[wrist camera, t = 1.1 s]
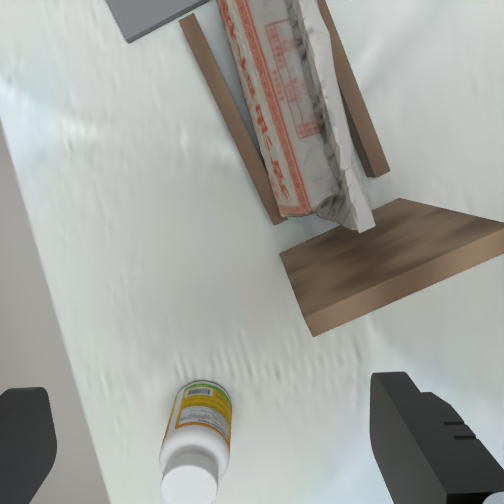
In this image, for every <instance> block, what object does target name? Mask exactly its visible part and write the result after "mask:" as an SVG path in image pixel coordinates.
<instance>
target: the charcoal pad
mask: <svg viewBox="0 0 504 504" xmlns="http://www.w3.org/2000/svg"><path fill="white" fill-rule="evenodd" d="M208 1H209V0H106V2H107V4H108V6H109V8H110V10H111V12H112V14H113V16H114V18H115V20H116V22H117V24H118V26H119V28H120V30H121V32H122V34H123V36H124V38H125V40H126V41H127V42H128V43H130V42H132V41H134V40H136V39H138V38H140V37H142V36H143V35H145V34H147V33H149V32H151V31H153V30H155V29H157V28H159V27H160V26H162V25H164V24H166V23H168V22H170V21H172V20H174V19H176V18H177V17H179V16H181V15H183V14H185V13H187V12H189V11H191V10H192V9H194V8H196V7H198V6H200V5H202V4H204V3H206V2H208Z"/></svg>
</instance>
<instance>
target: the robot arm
mask: <svg viewBox="0 0 504 504" xmlns="http://www.w3.org/2000/svg"><path fill="white" fill-rule="evenodd" d="M370 440H371V446H372V450H373V454H374V457H375V459H376V462H377V464H378V466H379V469H380V471H381V474H382V476H383V478H384V481H385V483H386V486H387V488H388V490H389V493H390V495H391V498H392V500H393V502H394V504H504V469H503V468H502V467H501V466H500V465H499V463H498V462H497V461H496V460H495V458H494V457H493V456H492V455H491V454H490V452H489V451H488V450H487V449H486V447H485V446H484V445H483V444H482V443H481V441H480V440H479V439H476V435H475V434H474V433H473V432H472V430H471V429H470V428H469V427H468V425H465V424H464V421H463V419H462V418H461V417H460V416H459V414H458V413H457V412H456V411H455V410H454V408H453V407H452V406H451V405H450V404H448V403H447V402H445V401H444V400H442V399H441V398H439V397H438V396H436V395H435V394H433V393H432V392H420V391H419V389H418V388H417V387H416V385H415V384H414V383H413V381H412V380H411V378H410V377H409V376H408V374H407V373H406V372H382V373H373V374H372V376H371V386H370ZM56 452H57V440H56V434H55V429H54V424H53V418H52V413H51V408H50V403H49V398H48V394H47V391H46V390H45V389H44V388H42V387H31V388H11V389H8V390H6V391H5V392H4V393H3V394H2V395H0V504H29V503H30V501H31V500H32V498H33V497H34V495H35V494H36V492H37V491H38V489H39V488H40V486H41V484H42V483H43V481H44V480H45V478H46V477H47V475H48V474H49V472H50V470H51V468H52V466H53V464H54V461H55V457H56Z"/></svg>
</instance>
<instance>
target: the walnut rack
mask: <svg viewBox="0 0 504 504" xmlns="http://www.w3.org/2000/svg"><path fill="white" fill-rule="evenodd" d="M317 3H318V7H319V11H320V14H321V17H322V19H323V21H324V23H325V25H326V27H327V30H328V32H329V34H330V41H331V48H332V55H333V63H334V69H335V73H336V77H337V81H338V86H339V90H340V94H341V98H342V102H343V106H344V110H345V115H346V119H347V123H348V127H349V131H350V135H351V138H352V140H353V143H354V145H355V148H356V150H357V153H358V155H359V158H360V160H361V163H362V165H363V168H364V170H365V173H366V175H367V177H374V178H376V177H379V176H381V175H383V174H385V173H387V172H389V171H390V168H389V166H388V163H387V161H386V158H385V155H384V153H383V150H382V147H381V145H380V142H379V140H378V137H377V134H376V132H375V129H374V127H373V124H372V121H371V119H370V116H369V114H368V111H367V108H366V106H365V103H364V101H363V98H362V95H361V93H360V90H359V87H358V85H357V82H356V80H355V77H354V74H353V72H352V69H351V67H350V64H349V61H348V59H347V56H346V54H345V51H344V48H343V46H342V43H341V40H340V38H339V35H338V33H337V30H336V27H335V25H334V22H333V20H332V17H331V14H330V12H329V9H328V7H327V4H326V1H325V0H317ZM179 23H180V26H181V28H182V30H183V32H184V34H185V36H186V38H187V41H188V43H189V45H190V47H191V49H192V51H193V53H194V55H195V58H196V60H197V62H198V64H199V66H200V68H201V70H202V73H203V75H204V77H205V79H206V81H207V83H208V85H209V88H210V90H211V92H212V94H213V96H214V98H215V100H216V103H217V105H218V107H219V109H220V111H221V113H222V115H223V118H224V120H225V122H226V124H227V126H228V128H229V130H230V133H231V135H232V137H233V139H234V141H235V143H236V145H237V147H238V150H239V152H240V154H241V156H242V158H243V160H244V162H245V165H246V167H247V169H248V171H249V173H250V175H251V177H252V180H253V182H254V184H255V186H256V188H257V190H258V192H259V195H260V197H261V199H262V201H263V203H264V205H265V207H266V210H267V212H268V214H269V216H270V218H271V220H272V222H273V224H274V225H277V224H279V223H281V222H283V221H285V220H287V219H288V218H287V217H285V218H284V217H282V216H281V215H280V212H279V208H278V205H277V201H276V199H275V196H274V193H273V189H272V186H271V183H270V179H269V176H268V174H267V172H266V170H265V168H264V166H263V163H262V161H261V159H260V157H259V155H258V152H257V150H256V148H255V146H254V144H253V141H252V139H251V137H250V135H249V133H248V131H247V128H246V126H245V124H244V122H243V120H242V117H241V115H240V113H239V111H238V109H237V106H236V104H235V102H234V100H233V98H232V96H231V93H230V91H229V89H228V87H227V85H226V82H225V80H224V78H223V76H222V74H221V71H220V69H219V67H218V65H217V63H216V61H215V58H214V56H213V54H212V52H211V50H210V47H209V45H208V43H207V41H206V39H205V36H204V34H203V32H202V30H201V28H200V26H199V23H198V21H197V19H196V17H195V15H194V13H192V14H190V15H188V16H187V17H185V18H183V19H181V20H179ZM371 212H372V215H373V218H374V222H375V225H376V226H375V227H372V228H370V229H368V230H366V231H364V232H362V233H359V232H358V230H351V229H349V228H347V227H345V226H343V225H340V226H338V227H336V228H334V229H332V230H330V231H327V232H325V233H323V234H321V235H319V236H317V237H314V238H312V239H310V240H308V241H306V242H304V243H301V244H299V245H297V246H295V247H293V248H291V249H289V250H286V251H284V252H282V253H280V257H281V259H282V262H283V264H284V267H285V270H286V272H287V275H288V278H289V280H290V283H291V286H292V288H293V291H294V294H295V296H296V299H297V301H298V304H299V307H300V309H301V312H302V315H303V317H304V320H305V322H306V324H307V326H308V328H309V330H310V332H311V334H312V336H313V337H315V336H317V335H320V334H322V333H324V332H326V331H329V330H331V329H333V328H335V327H338V326H340V325H342V324H344V323H347V322H349V321H351V320H354V319H356V318H358V317H360V316H363V315H365V314H367V313H369V312H372V311H374V310H376V309H378V308H381V307H383V306H385V305H388V304H390V303H392V302H394V301H397V300H399V299H401V298H403V297H406V296H408V295H410V294H412V293H415V292H417V291H419V290H422V289H424V288H426V287H428V286H431V285H433V284H435V283H437V282H440V281H442V280H444V279H446V278H449V277H451V276H453V275H456V274H458V273H460V272H462V271H465V270H467V269H469V268H471V267H474V266H476V265H478V264H480V263H483V262H485V261H487V260H490V259H492V258H494V257H496V256H499V255H501V254H503V253H504V223H503V222H498V221H494V220H490V219H486V218H482V217H477V216H473V215H469V214H465V213H460V212H456V211H452V210H448V209H443V208H439V207H435V206H431V205H427V204H422V203H418V202H414V201H410V200H405V199H401V198H399V199H396V200H394V201H392V202H390V203H388V204H386V205H383V206H381V207H379V208H377V209H375V210H373V211H371Z"/></svg>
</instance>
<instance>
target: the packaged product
mask: <svg viewBox="0 0 504 504" xmlns="http://www.w3.org/2000/svg"><path fill="white" fill-rule="evenodd" d="M216 1H217V4H218V7H219V11H220V14H221V18H222V21H223V25H224V28H225V31H226V35H227V38H228V42H229V45H230V48H231V51H232V54H233V58H234V60H235V64H236V68H237V71H238V74H239V78H240V81H241V85H242V89H243V93H244V97H245V99H246V102H247V107H248V110H249V112H250V115H251V119H252V123H253V126H254V129H255V133H256V136H257V139H258V142H259V145H260V150H261V154H262V156H263V158H264V161H265V165H266V170H267V172H268V175H269V179H270V183H271V186H272V189H273V193H274V196H275V199H276V201H277V205H278V208H279V212H280V215H281V216H282V217H284V218H285V217H291V216H292V217H301V216H307V215H309V214H311V213H314V212H315V211H316V214H317V215H318V216H320V217H322V218H325V219H327V220H330V221H334V222H337V223H339V224H341V225H343V226H345V227H347V228H349V229H351V230H358V232H359V233H362V232H364V231H366V230H368V229H370V228H372V227H375V226H376V225H375V222H374V218H373V215H372V212H371V208H370V205H369V201H368V198H367V194H366V191H365V188H364V184H363V181H362V177H361V174H360V171H359V167H358V164H357V160H356V156H355V152H354V148H353V144H352V139H351V135H350V131H349V127H348V123H347V119H346V115H345V110H344V106H343V102H342V98H341V94H340V90H339V86H338V81H337V77H336V73H335V69H334V63H333V55H332V48H331V41H330V34H329V32H328V30H327V27H326V25H325V23H324V21H323V19H322V17H321V14H320V11H319V7H318V3H317V0H216Z"/></svg>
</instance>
